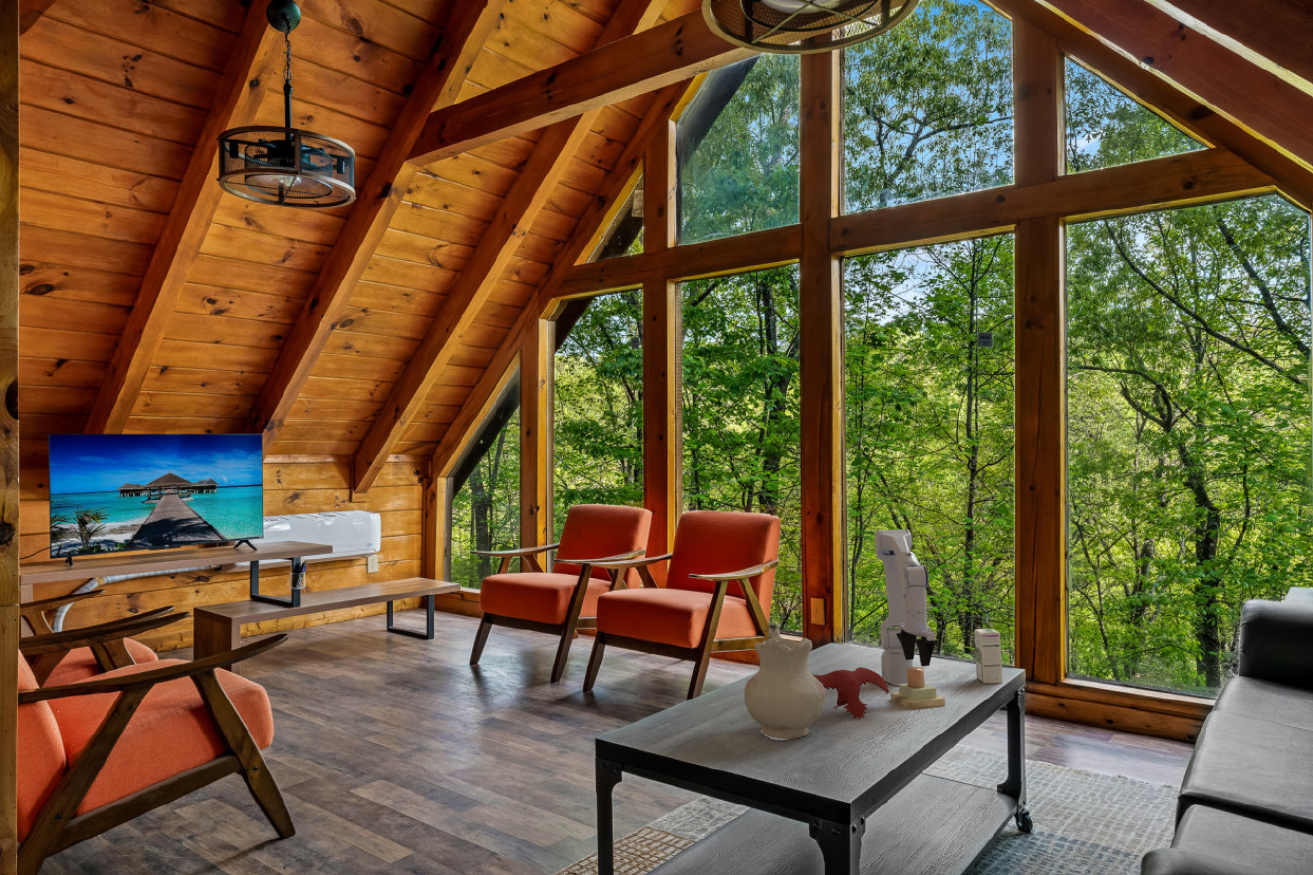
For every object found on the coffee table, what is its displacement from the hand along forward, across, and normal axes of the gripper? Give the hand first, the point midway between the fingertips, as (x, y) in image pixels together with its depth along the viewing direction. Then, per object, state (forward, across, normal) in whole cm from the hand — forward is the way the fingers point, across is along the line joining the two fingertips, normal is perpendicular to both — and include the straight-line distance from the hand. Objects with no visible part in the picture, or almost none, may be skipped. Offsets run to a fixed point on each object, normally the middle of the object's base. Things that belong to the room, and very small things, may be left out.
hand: (917, 662), depth 230 cm
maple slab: (+11, 0, +1) cm, 11 cm away
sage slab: (+9, 0, +1) cm, 9 cm away
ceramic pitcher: (+10, -11, +44) cm, 46 cm away
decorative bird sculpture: (+11, -3, +23) cm, 25 cm away
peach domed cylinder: (+6, 0, +1) cm, 6 cm away
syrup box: (+11, +12, -30) cm, 34 cm away
